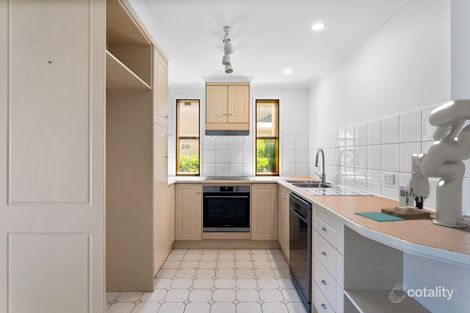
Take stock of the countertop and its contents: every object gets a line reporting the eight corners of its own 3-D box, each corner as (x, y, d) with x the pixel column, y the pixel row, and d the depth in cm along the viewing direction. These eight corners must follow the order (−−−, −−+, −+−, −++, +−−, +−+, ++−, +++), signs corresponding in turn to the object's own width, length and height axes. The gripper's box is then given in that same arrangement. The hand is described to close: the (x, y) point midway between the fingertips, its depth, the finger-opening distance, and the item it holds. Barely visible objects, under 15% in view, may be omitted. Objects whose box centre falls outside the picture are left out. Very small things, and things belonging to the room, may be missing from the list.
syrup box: (398, 207, 163) (398, 184, 163) (405, 207, 165) (405, 184, 165) (407, 209, 157) (407, 185, 157) (414, 209, 159) (414, 185, 159)
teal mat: (405, 220, 130) (405, 219, 130) (379, 221, 127) (379, 220, 127) (377, 212, 148) (377, 211, 148) (354, 213, 144) (354, 212, 144)
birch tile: (408, 209, 146) (408, 205, 146) (418, 211, 140) (418, 207, 140) (395, 209, 143) (395, 206, 143) (404, 212, 138) (404, 208, 138)
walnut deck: (430, 217, 137) (430, 212, 137) (402, 219, 132) (402, 214, 132) (407, 211, 150) (407, 207, 150) (381, 213, 146) (381, 208, 146)
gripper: (424, 175, 149) (423, 207, 149) (402, 175, 146) (402, 208, 146) (437, 176, 142) (436, 209, 141) (414, 176, 138) (414, 210, 138)
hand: (419, 208), depth 143 cm, fingers closed
